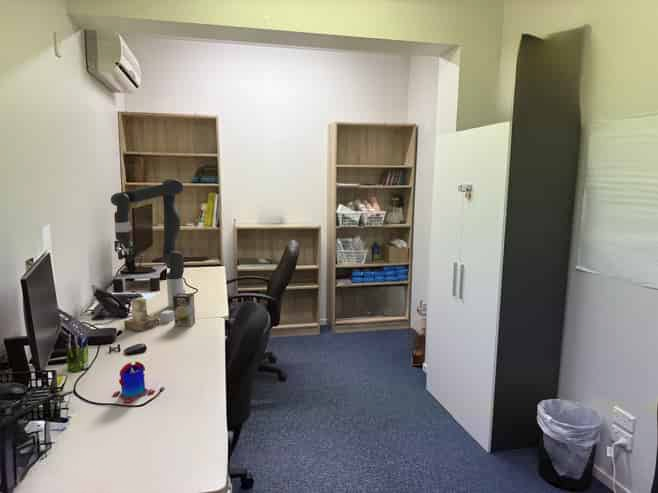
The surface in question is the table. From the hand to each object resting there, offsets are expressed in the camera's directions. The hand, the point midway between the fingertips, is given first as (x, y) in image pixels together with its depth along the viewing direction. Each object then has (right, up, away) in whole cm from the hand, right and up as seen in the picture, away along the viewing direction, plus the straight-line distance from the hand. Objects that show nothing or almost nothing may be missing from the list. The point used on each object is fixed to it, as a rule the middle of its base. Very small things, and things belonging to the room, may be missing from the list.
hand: (125, 260), depth 241 cm
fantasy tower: (+40, -46, -81) cm, 102 cm away
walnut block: (+13, -34, -11) cm, 38 cm away
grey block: (+23, -33, -1) cm, 40 cm away
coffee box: (+35, -34, -7) cm, 49 cm away
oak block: (+13, -30, -12) cm, 35 cm away
